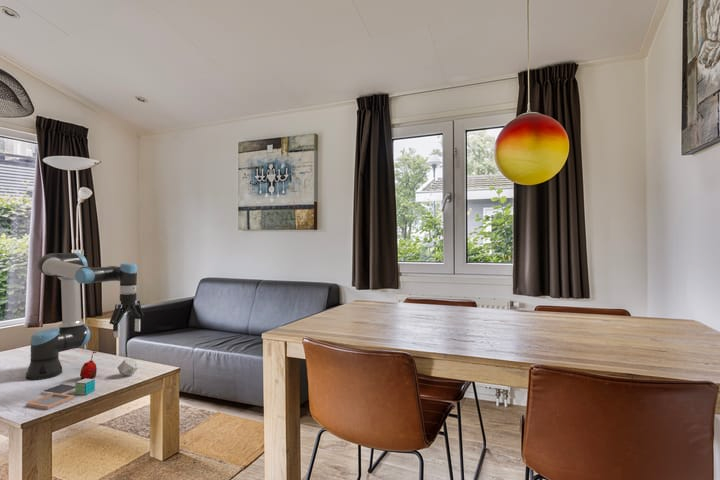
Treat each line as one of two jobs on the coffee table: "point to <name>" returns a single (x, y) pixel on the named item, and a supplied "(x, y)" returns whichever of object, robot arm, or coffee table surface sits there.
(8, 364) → the coffee table surface
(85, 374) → the red clay folk toy
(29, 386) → the coffee table surface
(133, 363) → the die
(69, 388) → the ink pad
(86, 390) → the puzzle toy
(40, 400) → the square tray
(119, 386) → the coffee table surface
